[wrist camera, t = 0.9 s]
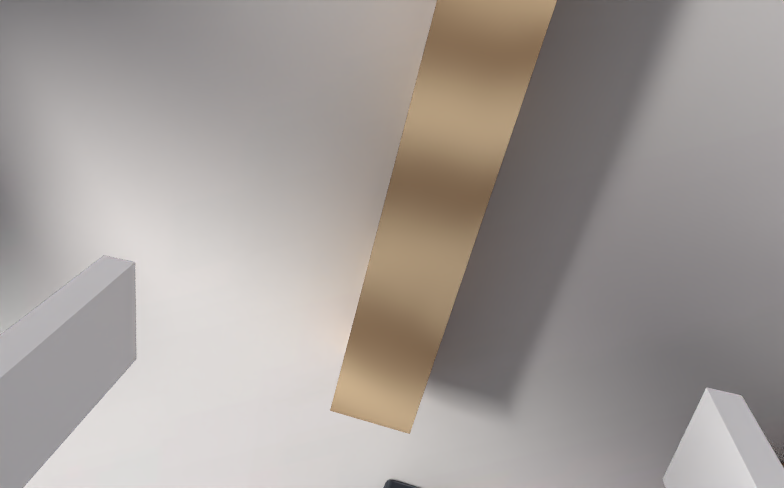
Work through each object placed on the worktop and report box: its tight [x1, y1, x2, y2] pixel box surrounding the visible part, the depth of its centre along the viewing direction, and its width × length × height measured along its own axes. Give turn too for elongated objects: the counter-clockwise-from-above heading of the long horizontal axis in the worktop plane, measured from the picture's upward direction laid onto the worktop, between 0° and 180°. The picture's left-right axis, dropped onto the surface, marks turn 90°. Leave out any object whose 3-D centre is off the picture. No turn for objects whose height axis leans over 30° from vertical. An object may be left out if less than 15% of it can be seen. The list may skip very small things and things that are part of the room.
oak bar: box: [330, 0, 557, 434], centre depth 28 cm, size 24×4×5 cm, turn 166°
